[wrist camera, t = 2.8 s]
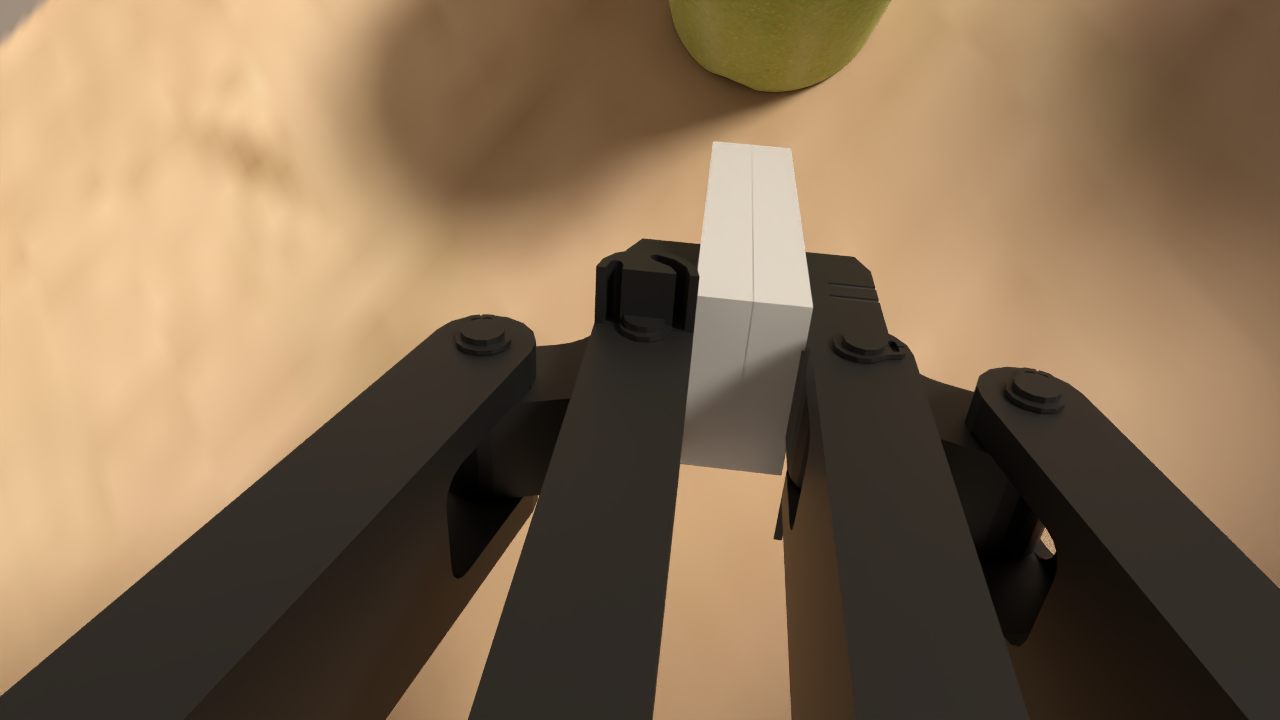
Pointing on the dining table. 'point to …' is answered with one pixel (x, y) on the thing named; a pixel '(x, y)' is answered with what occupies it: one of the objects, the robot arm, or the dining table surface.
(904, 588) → the robot arm
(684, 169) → the dining table surface
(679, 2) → the plant pot
